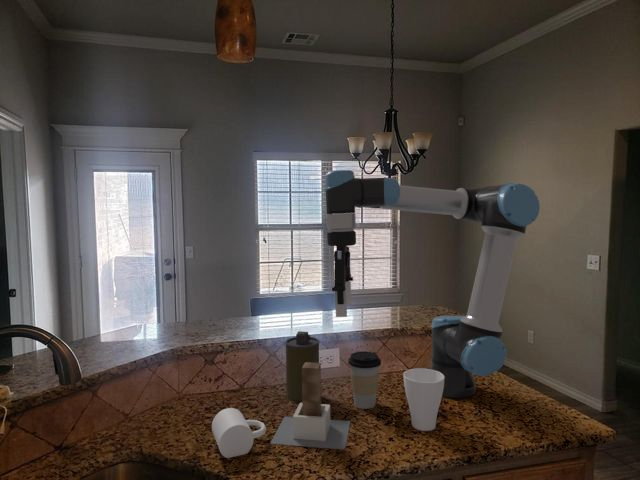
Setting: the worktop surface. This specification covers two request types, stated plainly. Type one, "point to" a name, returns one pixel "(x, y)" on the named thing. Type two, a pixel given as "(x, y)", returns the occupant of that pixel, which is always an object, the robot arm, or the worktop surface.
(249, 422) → the mug
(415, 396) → the cup
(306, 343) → the canister
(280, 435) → the mat
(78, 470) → the worktop surface
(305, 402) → the brown wooden block
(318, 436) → the white square holder
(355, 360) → the coffee cup
